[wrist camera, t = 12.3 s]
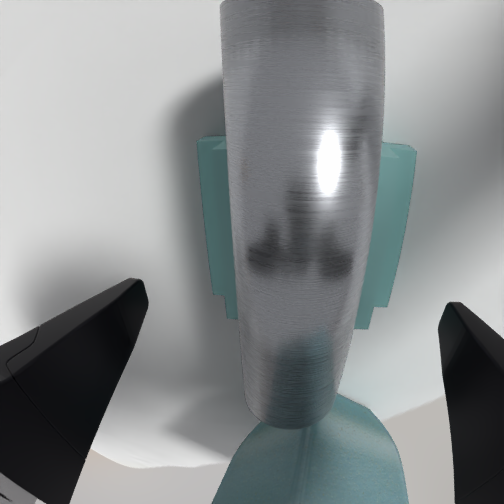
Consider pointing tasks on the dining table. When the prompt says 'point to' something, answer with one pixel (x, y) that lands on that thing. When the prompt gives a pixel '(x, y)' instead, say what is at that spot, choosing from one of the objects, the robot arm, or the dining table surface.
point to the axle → (300, 190)
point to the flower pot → (318, 463)
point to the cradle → (383, 233)
